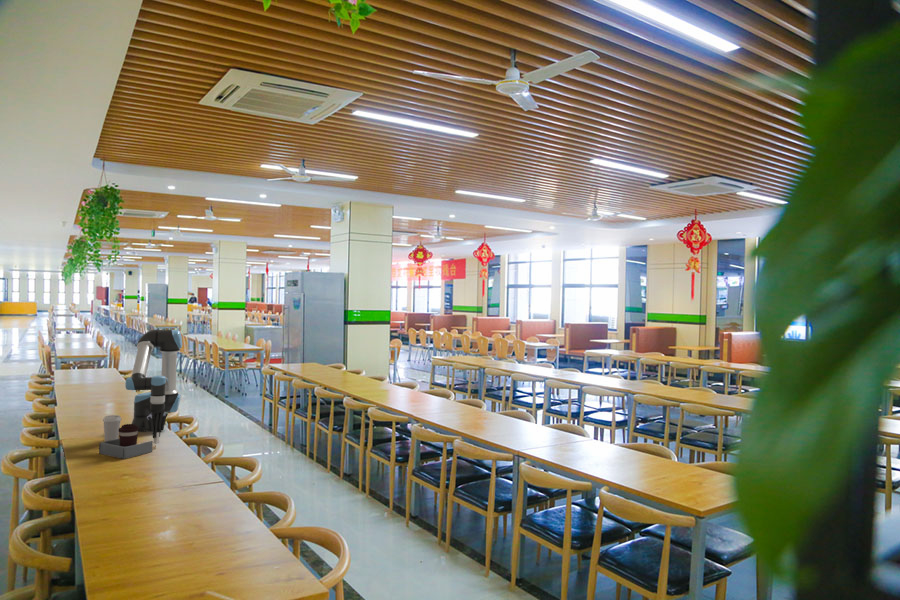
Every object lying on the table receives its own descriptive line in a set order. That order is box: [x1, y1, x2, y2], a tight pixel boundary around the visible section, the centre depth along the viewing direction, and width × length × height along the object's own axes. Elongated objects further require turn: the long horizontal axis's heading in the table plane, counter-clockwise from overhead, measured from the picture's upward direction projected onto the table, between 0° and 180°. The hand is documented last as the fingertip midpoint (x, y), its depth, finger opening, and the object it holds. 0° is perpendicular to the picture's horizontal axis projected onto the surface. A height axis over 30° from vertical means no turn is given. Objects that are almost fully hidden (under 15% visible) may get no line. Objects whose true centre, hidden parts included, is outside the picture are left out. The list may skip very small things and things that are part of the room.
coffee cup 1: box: [102, 414, 122, 442], centre depth 337 cm, size 10×10×15 cm
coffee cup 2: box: [118, 423, 139, 447], centre depth 318 cm, size 10×10×15 cm
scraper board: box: [137, 442, 157, 451], centre depth 325 cm, size 8×12×2 cm, turn 66°
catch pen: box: [98, 438, 154, 460], centre depth 317 cm, size 17×20×6 cm
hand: (156, 443), depth 334 cm, fingers closed
